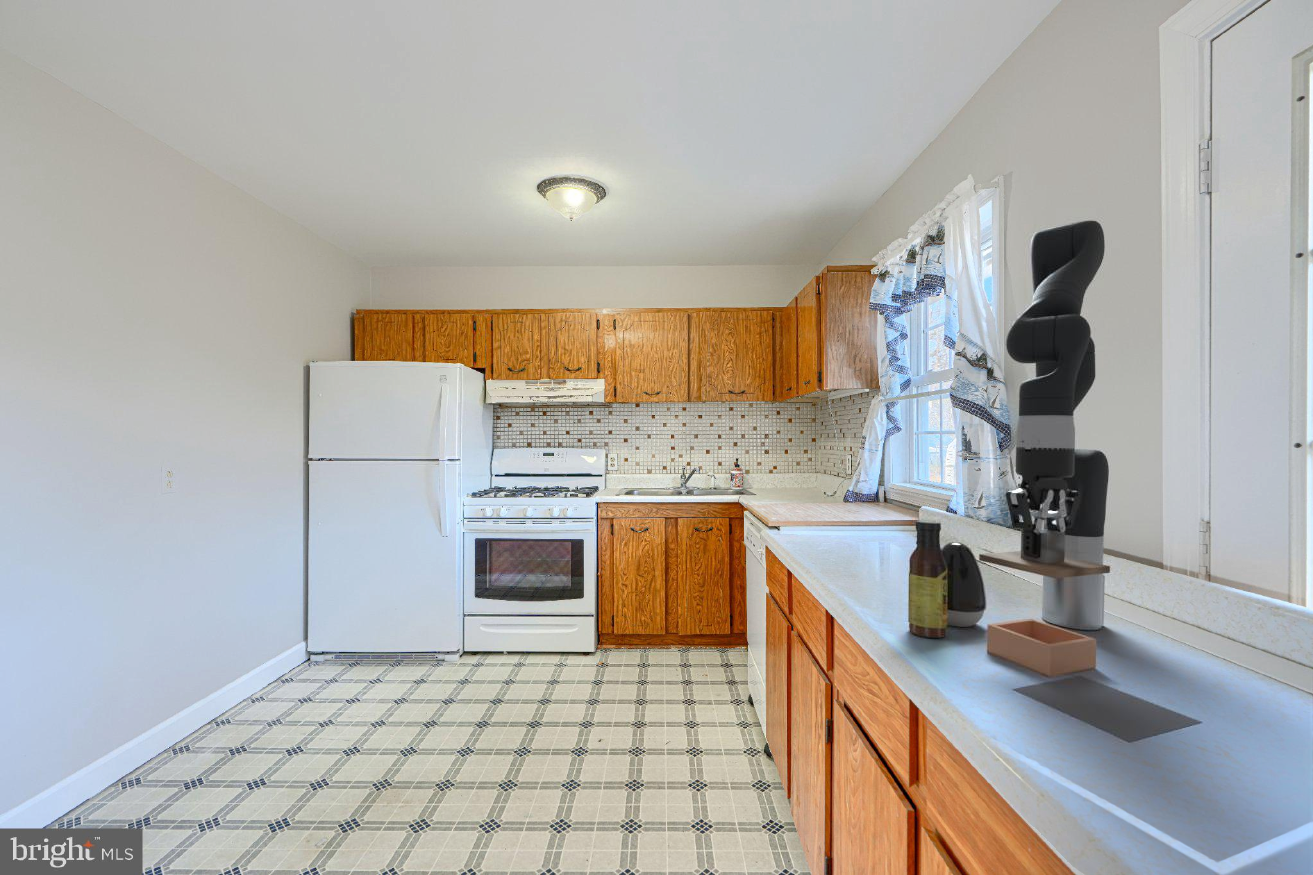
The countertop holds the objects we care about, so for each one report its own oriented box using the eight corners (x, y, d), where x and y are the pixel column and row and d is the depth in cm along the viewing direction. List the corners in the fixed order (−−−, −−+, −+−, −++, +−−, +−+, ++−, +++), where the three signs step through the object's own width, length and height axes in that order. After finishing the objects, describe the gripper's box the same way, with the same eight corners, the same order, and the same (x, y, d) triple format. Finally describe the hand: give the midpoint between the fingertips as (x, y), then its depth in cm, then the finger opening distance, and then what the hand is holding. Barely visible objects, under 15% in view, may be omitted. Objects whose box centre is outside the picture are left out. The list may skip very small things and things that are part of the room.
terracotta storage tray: (1030, 648, 94) (1030, 618, 94) (1095, 672, 84) (1096, 639, 84) (986, 655, 90) (987, 624, 90) (1049, 681, 81) (1050, 646, 81)
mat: (1080, 679, 82) (1080, 675, 82) (1202, 726, 69) (1202, 722, 69) (1012, 693, 77) (1012, 688, 77) (1129, 747, 64) (1129, 741, 64)
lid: (1031, 556, 95) (1031, 523, 95) (1109, 572, 84) (1110, 535, 84) (979, 560, 91) (980, 526, 91) (1055, 578, 79) (1056, 539, 79)
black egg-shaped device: (916, 612, 112) (918, 536, 112) (972, 615, 111) (974, 538, 111) (934, 629, 102) (936, 545, 102) (996, 633, 101) (998, 548, 101)
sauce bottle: (951, 641, 96) (954, 525, 96) (912, 637, 97) (915, 523, 97) (940, 628, 103) (942, 519, 103) (903, 625, 104) (906, 518, 104)
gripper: (1051, 445, 93) (1049, 549, 93) (989, 444, 88) (987, 553, 88) (1101, 446, 86) (1098, 558, 86) (1037, 445, 81) (1034, 564, 81)
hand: (1042, 555), depth 87 cm, fingers closed on lid, 4 cm apart
